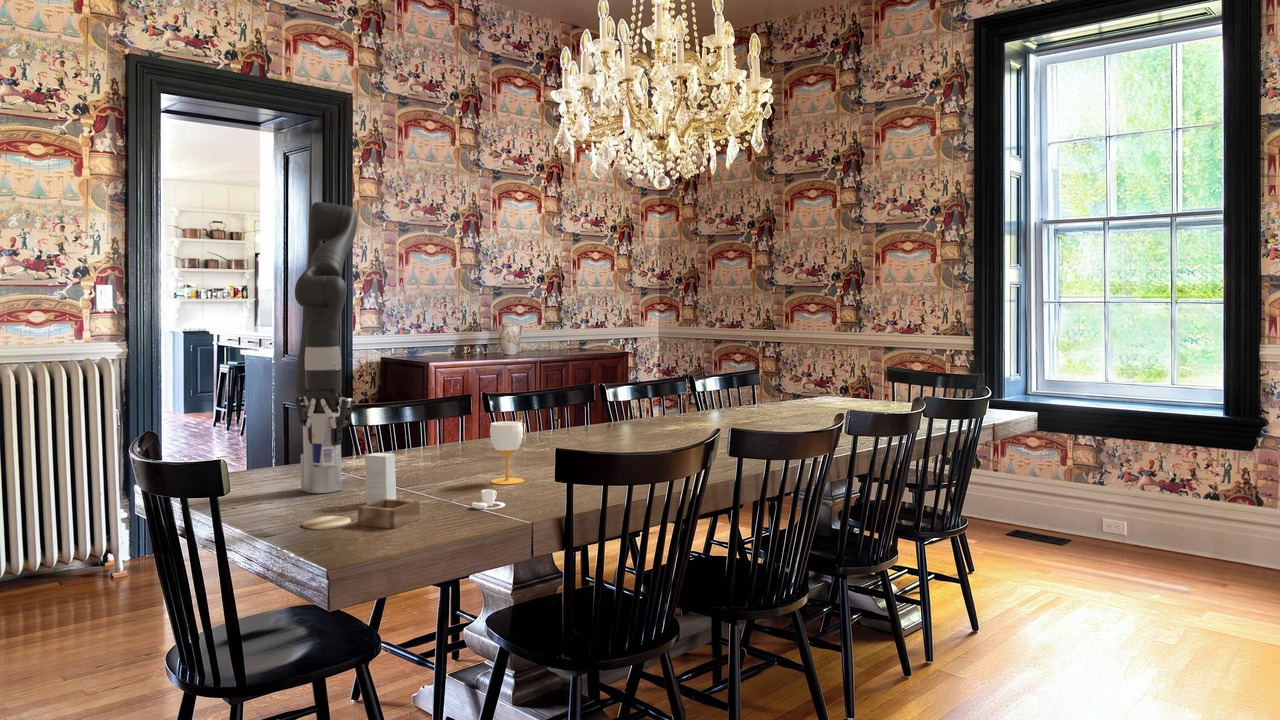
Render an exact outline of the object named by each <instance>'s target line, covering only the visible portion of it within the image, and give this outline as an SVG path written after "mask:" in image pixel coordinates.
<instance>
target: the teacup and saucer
mask: <svg viewBox="0 0 1280 720" xmlns="http://www.w3.org/2000/svg"><path fill="white" fill-rule="evenodd" d="M480 493H481V501H480V502H477V501H475V502H474V501H473V502H472V503H471V508H473V509H475V510H476V509H477V510H495V509H500V508H503V507H505V506H506V503H504V502H502V501H495V500H496V499H497V495H498V491H497V490H495V489H492V488H490V489H489V488H487V489H482V490H481V492H480ZM494 504H498V505H499V506H495V507H493V505H494ZM500 505H501V506H500ZM489 506H490V507H489Z"/></svg>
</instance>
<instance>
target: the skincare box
mask: <svg viewBox="0 0 1280 720" xmlns="http://www.w3.org/2000/svg"><path fill="white" fill-rule="evenodd" d="M364 463H365V465H364V467H365V469H364V472H365V500H366V504H369V503H372V502H375V501H378V500H381V499H396V500H397V486H396V485H397V483H396V481H397V480H396V479H397V477H396V476H397V475H396V454H395V453H387V452H386V453H383V452H374V453H373V452H372V453H369V454H365V455H364Z"/></svg>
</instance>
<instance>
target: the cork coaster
mask: <svg viewBox="0 0 1280 720" xmlns="http://www.w3.org/2000/svg"><path fill="white" fill-rule="evenodd" d="M351 523H352V519H351V517H347V516H343V515H341V516H340V515H327V516H320V517H314V518H310V519H306V520H304V521H303V522H302V527H303V528H305V529H309V530H332V529H339V528H343V527H346V526H349V525H351Z"/></svg>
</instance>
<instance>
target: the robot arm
mask: <svg viewBox="0 0 1280 720" xmlns="http://www.w3.org/2000/svg"><path fill="white" fill-rule="evenodd" d="M357 228H358V213H357V211H356V209H355V208H354V207H352V206H349V205H343V204H338V203H337V204H336V203H332V202H323V201H315V202H314V203H312V205H311V207H310V210H309V217H308V230H307V231H308V234H307V236H308V237H307V239H308V243H307V266H306V267H307V268H306V269H305V270H304V272H302V274H301V275H300V276H299V278H298V279H297V280H296V283H295V285H294V286H295V287H294V297H295V298H294V299H295V300H296V302H297V304H298V305H300V307H302V322H301V323H302V324H301V337H300V344H299V351H298V356H297V362H296V368H295V375H294V390H295V393H296V395H297V397H296V398H295V403H296V404H295V405H296V411H297V415H298V420H299V423H300V424H301V425H302V437H303V438H302V439H303V440H302V441H303V443H302V444H303V447H302V449H303V453H301V454H300V479H301V480H300V484H301V485H300V487H301V492H306V493H308V494H326V493H333V492H339V491H341V490H342V489H343V483H342V482H343V481H342V480H343V479H342V478H343V477H342V442H343V427H345V426H349V425H350V424H351V420H352V411H353V405H354V399H353V398H352V397H344V396H343V395H342V386H343V385H342V382H343V381H342V380H343V378H342V354H341V348H340V323H341V317H342V312H343V308H344V305H345V302H346V298H347V294H348V293H347V292H348V289H347V285H346V282H345V281H344V279H343V278H342V274H343V269H344V263H345V260H346V257H347V255H348V253H350V252H349V251H350V249H351V247H352V244H353V242H354V240H355V237H356V233H357ZM323 241H324V243H323ZM334 412H336V413H335V414H333V413H334ZM313 413H317V414H320V413H326V416H327V418H328V419H330V423H331V425H332V428H333V429H331V436H332V445H334V446H336V445H338V461H339V464H338V466H337V467H333V468H322V469H321V468H314V467H313V453H312V419H311V417H312V414H313ZM335 417H336V419H335Z"/></svg>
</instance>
